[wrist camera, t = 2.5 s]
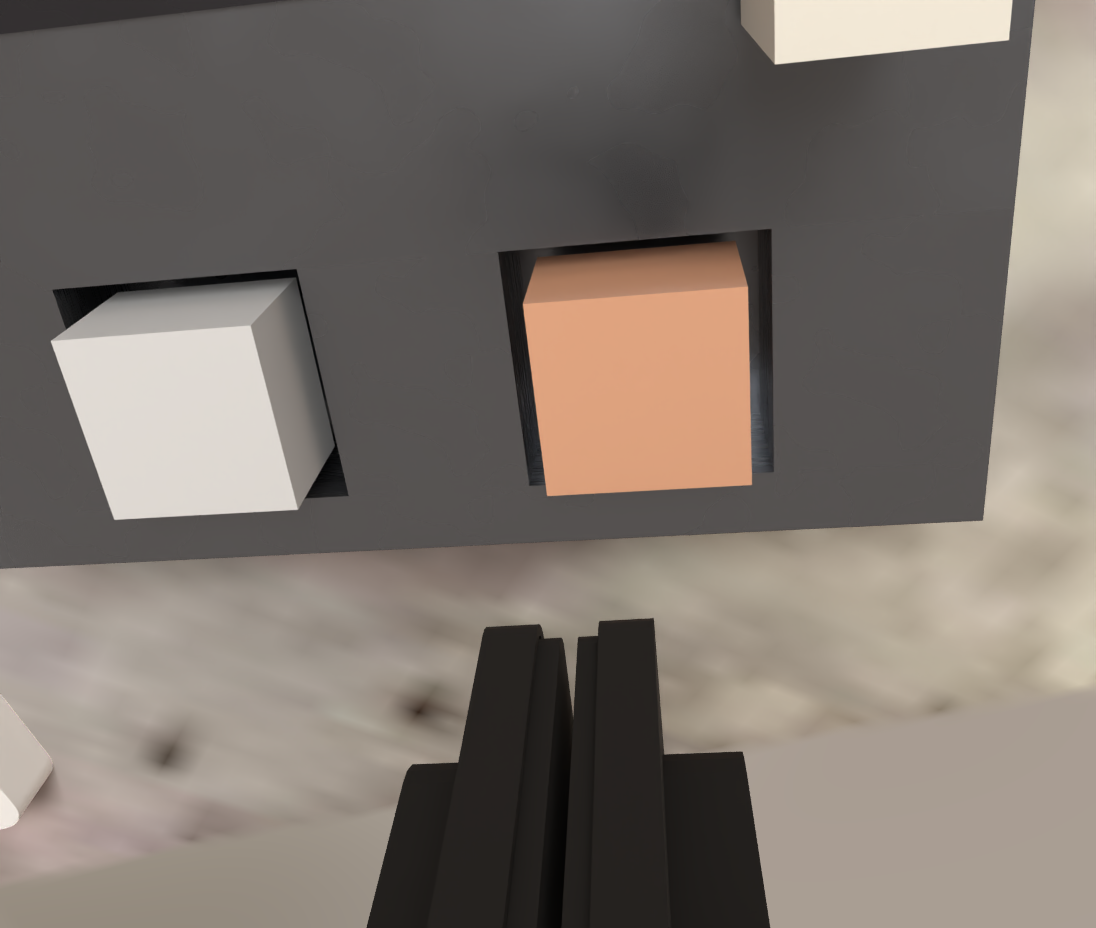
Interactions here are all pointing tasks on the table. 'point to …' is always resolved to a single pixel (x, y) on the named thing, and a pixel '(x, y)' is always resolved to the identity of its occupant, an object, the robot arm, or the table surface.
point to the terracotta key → (641, 368)
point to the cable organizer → (19, 766)
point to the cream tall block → (870, 26)
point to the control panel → (504, 249)
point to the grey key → (199, 398)
